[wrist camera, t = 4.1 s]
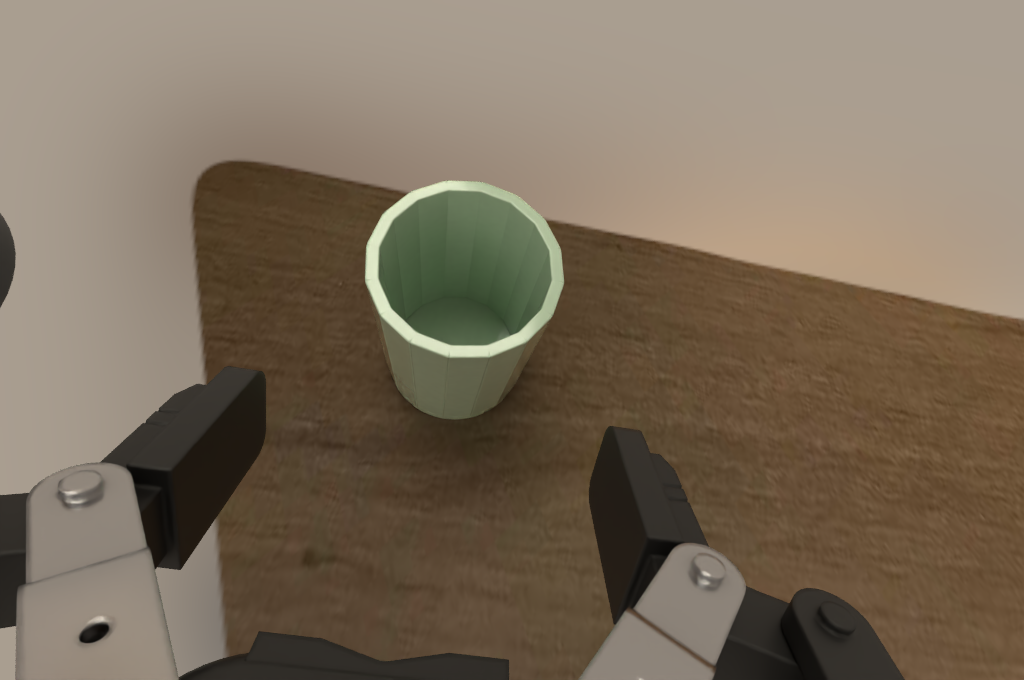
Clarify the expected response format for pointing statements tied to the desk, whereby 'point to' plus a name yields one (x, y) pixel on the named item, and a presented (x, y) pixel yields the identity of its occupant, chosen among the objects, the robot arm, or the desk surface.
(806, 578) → the desk surface
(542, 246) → the cup
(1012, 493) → the desk surface
